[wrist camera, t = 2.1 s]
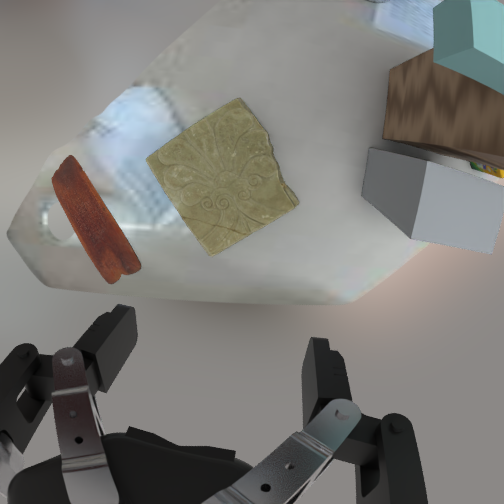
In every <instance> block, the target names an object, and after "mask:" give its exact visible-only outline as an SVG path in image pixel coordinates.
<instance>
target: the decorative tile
mask: <svg viewBox="0 0 504 504" xmlns="http://www.w3.org/2000/svg"><path fill="white" fill-rule="evenodd" d="M146 162H147V164H148V165H149V167H150V169H151V170H152V172H153V174H154V175H155V177H156V178H157V180H158V182H159V183H160V185H161V187H162V188H163V190H164V192H165V193H166V195H167V196H168V198H169V199H170V201H171V202H172V204H173V205H174V207H175V208H176V210H177V211H178V212H179V214H180V215H181V217H182V219H183V220H184V222H185V223H186V225H187V226H188V228H189V229H190V230H191V232H192V233H193V234H194V236H195V237H196V238H197V240H198V241H199V243H200V244H201V245H202V247H203V248H204V249H205V251H206V252H207V253H208V255H209V256H211V257H212V256H214V255H216V254H218V253H220V252H222V251H223V250H225V249H227V248H228V247H230V246H231V245H233V244H235V243H237V242H239V241H240V240H242V239H244V238H245V237H247V236H249V235H250V234H252V233H253V232H255V231H257V230H259V229H261V228H263V227H264V226H266V225H268V224H269V223H271V222H273V221H275V220H276V219H278V218H280V217H281V216H283V215H284V214H286V213H288V212H289V211H291V210H293V209H294V208H295V207H296V206H297V205H298V204H299V201H298V199H297V197H296V195H295V194H294V192H293V191H292V190H291V189H290V188H289V187H288V186H287V185H286V184H285V182H284V181H283V177H282V175H281V172H280V169H279V165H278V163H277V162H276V159H275V157H274V156H273V146H272V144H271V143H270V141H269V135H268V133H267V131H266V130H264V129H263V127H262V126H261V125H260V123H259V122H258V120H257V119H256V117H255V116H254V115H253V114H252V113H251V111H250V109H249V108H248V107H247V105H246V104H245V102H244V101H243V100H242V99H241V98H237V99H235V100H233V101H231V102H229V103H228V104H226V105H224V106H223V107H221V108H219V109H218V110H216V111H215V112H213V113H211V114H210V115H208V116H206V117H205V118H203V119H202V120H200V121H199V122H197V123H195V124H194V125H192V126H191V127H189V128H188V129H186V130H185V131H183V132H182V133H181V134H179V135H178V136H177V137H175V138H174V139H172V140H171V141H169V142H168V143H166V144H165V145H164V146H163V147H161V148H160V149H159V150H157V151H156V152H154V153H153V154H151V155H150V156H149V157H147V158H146Z"/></svg>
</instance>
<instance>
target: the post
mask: <svg viewBox="0 0 504 504" xmlns="http://www.w3.org/2000/svg"><path fill="white" fill-rule="evenodd" d="M433 55H434V48H432V49H430V50H428V51H426V52H424V53H422V54H420V55H418V56H416V57H414V58H412V59H410V60H408V61H406V62H404V63H402V64H400V65H398V66H396V67H394V68H392V69H390V74H389V86H388V97H387V106H386V115H385V123H384V131H383V138H382V139H387V140H391V141H395V142H399V143H402V144H406V145H410V146H414V147H417V148H421V149H424V150H428V151H431V152H434V153H438V154H441V155H444V156H449V157H453V158H458V159H462V160H466V161H471V162H475V163H479V164H482V165H486V166H490V167H494V168H497V169H501V170H504V95H503V94H501V93H499V92H497V91H496V90H494V89H492V88H490V87H488V86H486V85H484V84H482V83H480V82H478V81H476V80H474V79H472V78H470V77H467V76H465V75H463V74H461V73H459V72H456V71H454V70H452V69H449V68H447V67H444V66H442V65H439V64H437V63H434V62H433Z"/></svg>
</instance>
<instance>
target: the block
mask: <svg viewBox="0 0 504 504" xmlns="http://www.w3.org/2000/svg"><path fill="white" fill-rule="evenodd" d="M433 22H434V55H433V62H434V63H437V64H439V65H442V66H444V67H447V68H449V69H452V70H454V71H456V72H459V73H461V74H463V75H465V76H467V77H470V78H472V79H474V80H476V81H478V82H480V83H482V84H484V85H486V86H488V87H490V88H492V89H494V90H496V91H497V92H499V93H501V94H503V95H504V5H503V4H501V3H500V2H498V1H496V0H444V1H443V2H441V3H440V4H438V5H437V6H435V7H434V8H433Z"/></svg>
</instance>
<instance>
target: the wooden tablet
mask: <svg viewBox="0 0 504 504" xmlns="http://www.w3.org/2000/svg"><path fill="white" fill-rule="evenodd" d="M52 184H53V187H54V190H55V193H56V196H57V198H58V200H59V202H60V204H61V206H62V207H63V209H64V211H65V213H66V215H67V217H68V219H69V221H70V223H71V225H72V227H73V229H74V231H75V233H76V234H77V236H78V238H79V240H80V242H81V244H82V245H83V247H84V249H85V250H86V252H87V254H88V256H89V257H90V259H91V260H92V262H93V263H94V265H95V267H96V268H97V269H98V271H99V272H100V274H101V275H102V277H103V278H104V279H105V280H106V281H107V282H108V283H109V284H114V283H115V282H116V281H118V280H119V279H120V277H121V274H125V275H129V274H133V273H135V272H137V271H139V270H140V269H141V264H140V262H139V260H138V258H137V256H136V254H135V253H134V251H133V249H132V247H131V246H130V244H129V242H128V240H127V239H126V237H125V235H124V234H123V232H122V231H121V229H120V228H119V226H118V224H117V223H116V221H115V220H114V218H113V216H112V215H111V213H110V212H109V210H108V209H107V207H106V206H105V204H104V202H103V201H102V199H101V198H100V196H99V194H98V193H97V191H96V190H95V188H94V187H93V185H92V183H91V182H90V180H89V178H88V177H87V175H86V173H85V172H84V171H83V170H82V167H81V166H80V164H79V163H78V161H77V160H76V159H75V158H74V157H73V156H72V155H69V156H68V157H67V158H66V159H65V160H64V161H63V163H62V164H61V165H60V167H59V169H58V170H56V172H55V173H54V176H53V177H52Z"/></svg>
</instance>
